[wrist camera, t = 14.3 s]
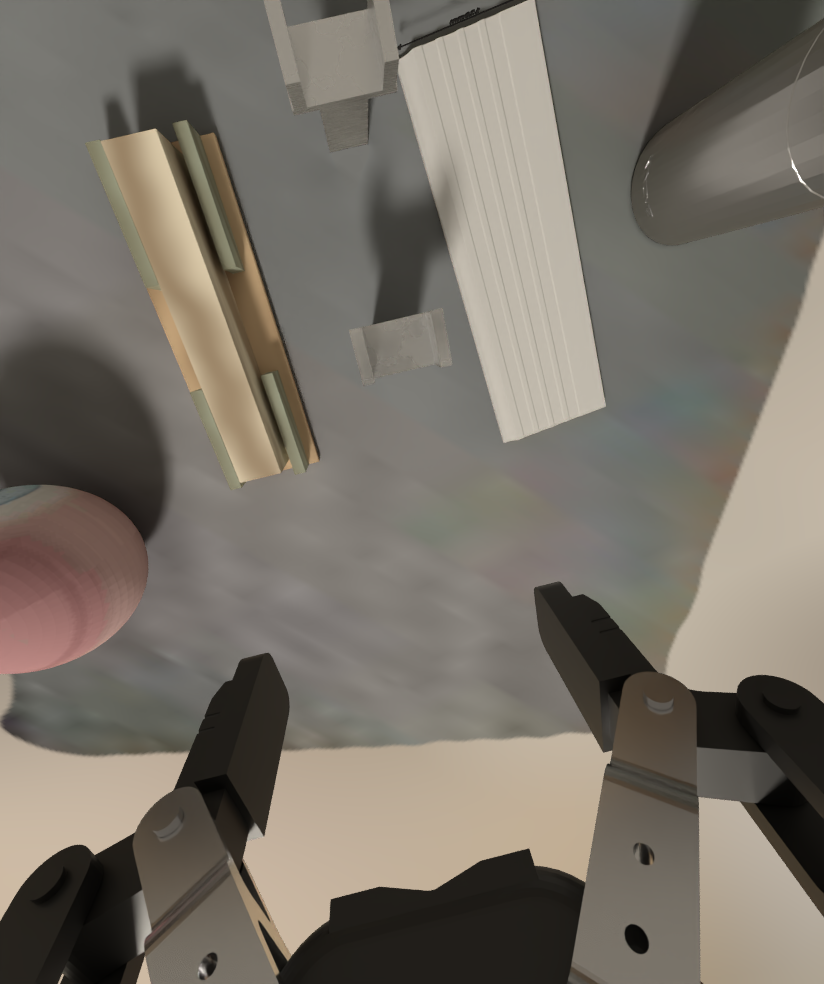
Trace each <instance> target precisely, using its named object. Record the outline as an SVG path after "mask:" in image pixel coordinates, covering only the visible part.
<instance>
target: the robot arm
mask: <svg viewBox="0 0 824 984" xmlns="http://www.w3.org/2000/svg"><path fill="white" fill-rule="evenodd" d="M631 201H632V209H633V213H634V216H635V219H636V221H637V223H638V225H639V227H640V229H641V230H642V231H643V232H644V233H645V234H646V235H647V237H648V238H650V239H652V240H653V241H655V242H657V243H660V244H663V245H680V244H684V243H688V242H692V241H696V240H700V239H704V238H708V237H712V236H716V235H720V234H724V233H728V232H731V231H735V230H739V229H743V228H746V227H750V226H754V225H758V224H762V223H765V222H769V221H773V220H777V219H780V218H784V217H788V216H792V215H795V214H799V213H803V212H807V211H810V210H814V209H818V208H822V207H824V18H823V19H822V20H820V21H819V22H817V23H816V24H814V25H813V26H811V27H810V28H808V29H807V30H805V31H804V32H802V33H801V34H799V35H798V36H796V37H795V38H794V39H792V40H791V41H789V42H788V43H786V44H785V45H783V46H782V47H780V48H779V49H777V50H776V51H774V52H773V53H771V54H770V55H768V56H767V57H765V58H764V59H762V60H761V61H760V62H758V63H757V64H755V65H754V66H752V67H751V68H749V69H748V70H746V71H745V72H743V73H742V74H740V75H739V76H737V77H736V78H734V79H733V80H731V81H730V82H729V83H727V84H726V85H724V86H723V87H721V88H720V89H718V90H717V91H715V92H714V93H712V94H711V95H709V96H708V97H706V98H705V99H703V100H702V101H700V102H699V103H697V104H696V105H694V106H693V107H691V108H690V109H688V110H687V111H685V112H684V113H683V114H681V115H680V116H678V117H677V118H675V119H674V120H672V121H671V122H669V123H668V124H667V125H665V126H664V127H663V128H662V129H660V130H659V131H658V132H657V133H656V134H655V135H654V136H653V138H652V139H651V140H650V141H649V142H648V144H647V145H646V147H645V149H644V150H643V152H642V154H641V156H640V158H639V160H638V163H637V165H636V168H635V171H634V176H633V180H632V188H631ZM534 596H535V604H536V612H537V620H538V628H539V633H540V636H541V639H542V642H543V645H544V647H545V649H546V651H547V653H548V654H549V656H550V658H551V660H552V662H553V663H554V665H555V667H556V669H557V671H558V672H559V674H560V676H561V678H562V679H563V681H564V683H565V685H566V687H567V688H568V690H569V692H570V694H571V696H572V697H573V699H574V701H575V703H576V705H577V706H578V708H579V710H580V712H581V713H582V715H583V717H584V719H585V721H586V722H587V724H588V726H589V728H590V730H591V731H592V733H593V735H594V737H595V738H596V740H597V742H598V744H599V746H600V747H601V749H602V751H603V752H608V751H611V750H612V757H611V761H610V764H607V766H606V769H605V773H604V778H603V784H602V790H601V795H600V801H599V807H598V813H597V819H596V824H595V830H594V836H593V842H592V848H591V854H590V859H589V866H588V872H587V877H586V883H585V882H584V881H582V880H579V879H578V878H576V877H574V876H572V875H570V874H568V873H565V872H562V871H560V870H556V869H552V868H548V867H541V866H534V863H533V859H532V856H531V853H530V850H529V849H526V850H521V851H517V852H514V853H510V854H506V855H502V856H498V857H494V858H490V859H486V860H482V861H480V862H478V863H477V864H475V865H473V866H472V867H471V868H469V869H467V870H465V871H464V872H462V873H461V874H459V875H458V876H456V877H454V878H453V879H451V880H450V881H448V882H447V883H445V884H443V885H442V886H440V887H438V888H437V889H435V890H431V891H423V890H411V889H399V888H388V887H377V888H373V889H369V890H365V891H361V892H358V893H354V894H350V895H346V896H342V897H339V898H334V899H331V904H330V920H329V921H328V922H326V923H325V924H323V925H322V926H321V927H319V928H318V929H317V930H316V931H315V932H313V933H312V934H311V935H310V936H309V937H308V938H307V939H306V940H305V941H304V943H302V944H301V945H300V947H299V948H298V949H297V950H296V952H295V953H294V954H293V955H292V956H291V954H290V952H289V950H288V948H287V947H286V945H285V943H284V941H283V940H282V938H281V936H280V934H279V932H278V930H277V928H276V926H275V924H274V922H273V920H272V918H271V915H270V913H269V911H268V909H267V907H266V905H265V903H264V901H263V899H262V897H261V894H260V892H259V890H258V888H257V886H256V884H255V882H254V879H253V877H252V875H251V873H250V871H249V869H248V867H247V865H246V863H245V861H244V860H243V854H244V851H245V846H246V842H247V841H250V840H254V839H257V838H261V837H264V835H265V829H266V825H267V820H268V815H269V810H270V805H271V799H272V795H273V790H274V785H275V780H276V774H277V770H278V765H279V760H280V755H281V750H282V745H283V740H284V735H285V730H286V725H287V720H288V715H289V696H288V692H287V689H286V686H285V684H284V682H283V680H282V678H281V676H280V673H279V671H278V669H277V667H276V665H275V662H274V660H273V658H272V656H271V655H270V654H269V653H264V654H260V655H256V656H252V657H248V658H244V659H242V660H241V661H240V662H239V664H238V667H237V669H236V672H235V675H234V677H233V680H231V681H227V682H225V683H224V684H223V685H222V687H221V688H220V689H219V690H218V692H217V693H216V694H215V695H214V697H213V698H212V700H211V702H210V704H209V707H208V709H207V712H206V714H205V719H203V721H202V724H201V726H200V728H199V734H197V736H196V738H195V740H194V743H193V745H192V748H191V750H190V752H189V755H188V757H187V760H186V762H185V764H184V767H183V769H182V772H181V774H180V776H179V779H178V781H177V784H176V786H175V788H174V790H173V791H172V792H170V793H168V794H167V795H165V796H164V797H162V798H161V799H160V800H159V801H158V802H156V803H155V804H154V805H153V807H151V808H150V810H149V811H148V812H147V813H146V814H145V816H144V817H143V819H142V820H141V822H140V824H139V825H138V827H137V830H136V832H135V833H133V834H132V835H130V836H128V837H126V838H125V839H123V840H121V841H119V842H118V843H116V844H114V845H112V846H111V847H109V848H107V849H105V850H103V851H102V852H100V853H98V854H96V855H94V854H93V853H92V852H91V851H90V850H89V849H88V848H87V847H86V846H84V845H74V846H70V847H68V848H65V849H63V850H61V851H59V852H58V853H56V854H55V855H53V856H52V857H50V858H49V859H48V860H46V861H45V862H44V863H43V864H42V865H40V866H39V867H38V868H37V869H36V870H35V871H34V872H33V873H32V874H31V875H30V877H29V878H28V879H27V880H26V881H25V883H24V884H23V885H22V886H21V888H20V889H19V891H18V892H17V894H16V895H15V897H14V899H13V900H12V902H11V904H10V906H9V907H8V909H7V911H6V912H5V914H4V916H3V918H2V920H1V921H0V984H58V981H59V979H60V977H61V975H62V974H64V976H63V979H62V981H61V983H60V984H136V982H137V979H138V975H139V972H140V969H141V966H142V963H143V960H144V957H146V962H147V966H148V971H149V976H150V981H151V984H703V983H702V982H701V981H700V895H699V894H700V892H699V886H700V884H699V802H698V797H705V798H713V799H722V800H731V801H740V802H741V803H742V805H743V806H744V807H745V809H746V810H747V812H748V813H749V815H750V816H751V817H752V819H753V820H754V822H755V823H756V824H757V826H758V827H759V828H760V830H761V831H762V833H763V834H764V835H765V837H766V838H767V839H768V841H769V842H770V844H771V845H772V846H773V848H774V849H775V850H776V852H777V853H778V855H779V856H780V857H781V859H782V860H783V861H784V863H785V864H786V866H787V867H788V868H789V870H790V871H791V872H792V874H793V875H794V877H795V878H796V880H797V881H798V882H799V883H800V885H801V886H802V888H803V889H804V890H805V892H806V893H807V895H808V896H809V897H810V899H811V900H812V902H813V903H814V904H815V906H816V907H817V909H818V910H819V911H820V913H821V914H822V915H823V916H824V703H823V702H821V701H820V700H819V699H818V698H817V697H816V696H814V695H813V694H812V693H811V692H810V691H808V690H806V689H805V688H803V687H802V686H800V685H798V684H796V683H794V682H791V681H789V680H786V679H783V678H779V677H775V676H768V675H756V676H750V677H747V678H745V679H744V680H742V682H740V684H739V685H738V689H737V693H722V692H702V691H695V690H689V689H688V688H687V687H686V686H685V685H683V684H682V683H681V682H679V681H678V680H676V679H674V678H673V677H670V676H668V675H665V674H662V673H658V672H657V671H656V670H655V669H654V668H653V666H652V665H651V664H650V663H649V662H648V661H647V659H646V658H645V657H644V656H643V655H642V654H641V652H640V651H639V650H638V649H637V648H636V646H635V645H634V644H633V643H632V642H631V641H630V639H629V638H628V637H627V636H626V635H625V633H624V632H623V631H622V630H620V629H619V626H618V625H617V624H616V623H615V622H614V620H613V619H611V618H610V616H609V615H608V613H607V612H606V611H605V610H604V609H603V607H602V606H601V605H600V604H599V603H597V602H596V601H594V600H592V599H590V598H589V597H587V596H585V595H583V594H582V595H578V596H574V597H572V596H571V595H570V593H569V592H568V591H567V589H566V588H565V587H564V586H563V584H562V583H561V582H555V583H551V584H547V585H543V586H539V587H535V588H534Z"/></svg>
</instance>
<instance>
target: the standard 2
mask: <svg viewBox="0 0 824 984" xmlns="http://www.w3.org/2000/svg"><path fill="white" fill-rule="evenodd" d="M349 332H350V336H351V340H352V344H353V348H354V352H355V356H356V359H357V363H358V367H359V371H360V375H361V379H362V383H363V386H365V385H370V384H374V383H375V381H374V379H375V378H379V377H383V376H387V375H391V374H396V373H400V372H404V371H408V370H412V369H417V368H421V367H425V366H429V365H433V364H435V365H437V366H439V367H445V366H449V365H452V360H451V354H450V348H449V343H448V337H447V331H446V325H445V319H444V314H443V308H440V309H436V310H432V311H428V312H424V313H420V314H416V315H412V316H408V317H403V318H399V319H395V320H391V321H386V322H382V323H378V324H374V325H370V326H365V327H360V328H356V329H352V330H349Z"/></svg>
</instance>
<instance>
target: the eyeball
mask: <svg viewBox="0 0 824 984" xmlns="http://www.w3.org/2000/svg"><path fill="white" fill-rule="evenodd" d="M147 577H148V556H147V551H146V547H145V544H144V541H143V539H142V537H141V535H140V533H139V531H138V530H137V528H136V527H135V525H134V524H133V523H132V521H131V520H130V519H129V518H128V517H127V516H126V515H125V514H124V513H123V512H122V511H120V510H119V509H118V508H117V507H115V506H114V505H112V504H111V503H109V502H107V501H106V500H104V499H102V498H100V497H98V496H96V495H93V494H91V493H88V492H85V491H81V490H78V489H74V488H69V487H63V486H55V485H24V486H16V487H9V488H4V489H0V674H16V673H27V672H34V671H39V670H44V669H48V668H52V667H55V666H58V665H61V664H64V663H67V662H69V661H72V660H74V659H76V658H79V657H81V656H82V655H84V654H86V653H88V652H90V651H92V650H93V649H95V648H96V647H98V646H99V645H101V644H102V643H104V642H105V641H107V640H108V639H109V638H110V637H111V636H112V635H114V634H115V633H116V632H117V631H118V630H119V629H120V628H121V627H122V626H123V625H124V624H125V623H126V621H127V620H128V619H129V618H130V616H131V615H132V613H133V612H134V611H135V609H136V607H137V605H138V603H139V602H140V600H141V598H142V595H143V592H144V590H145V587H146V582H147Z"/></svg>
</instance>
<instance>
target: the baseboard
mask: <svg viewBox="0 0 824 984" xmlns="http://www.w3.org/2000/svg"><path fill="white" fill-rule="evenodd" d="M510 1H513V0H510ZM510 1H507V2H505V3H502V4H500V5H498V6H501V5H503V4H506V3H508V2H510ZM498 6H495V7H493V8H490V9H488V10H486V11H489V10H491V9H494V8H496V7H498ZM478 10H480V8H477V10H476V12H475V9H473V10H471V12H467V13H466V14H465V15H461V16H459V17H458V18H454V19H452V20H450V26H448V27H451V26H453V25H456V24H458V23H460V22H463V21H465V20H467V19H470V18H472V17H475V16H477V15H479V14H482V13H484V12H486V11H483V12H481V13H479V11H478ZM473 12H474V13H475V14H476V15H474V13H473ZM470 13H471V14H470ZM477 13H479V14H477ZM472 15H474V16H472ZM470 16H471V17H470ZM464 17H465V18H467V19H464ZM468 17H469V18H468ZM459 19H460V20H461V19H462V21H460V22H458V21H459ZM463 19H464V20H463ZM454 21H455V24H453V23H454ZM456 22H457V23H456ZM451 23H452V25H451ZM448 27H445V28H443V29H441V30H444V29H446V28H448ZM441 30H438V31H436V32H433V33H431V34H429V35H432V34H434V33H437V32H439V31H441ZM429 35H426V36H424V37H422V38H425V37H427V36H429ZM422 38H419V39H417V40H420V39H422ZM417 40H414V41H412V42H410V43H413V42H415V41H417ZM410 43H407V44H405V45H402V46H401V44H400V45H399V46H398V47H397V49H399V50H401V47H403V46H406V45H408V44H410ZM398 75H399V78H400V82H401V85H402V89H403V93H404V96H405V100H406V103H407V107H408V110H409V114H410V117H411V121H412V124H413V128H414V131H415V135H416V138H417V142H418V145H419V149H420V152H421V156H422V159H423V163H424V166H425V170H426V173H427V177H428V180H429V184H430V187H431V191H432V194H433V198H434V201H435V205H436V208H437V212H438V215H439V219H440V222H441V226H442V229H443V233H444V236H445V240H446V243H447V247H448V250H449V254H450V257H451V261H452V264H453V268H454V271H455V275H456V278H457V282H458V285H459V289H460V292H461V296H462V299H463V303H464V306H465V310H466V313H467V317H468V320H469V324H470V327H471V331H472V334H473V338H474V341H475V345H476V348H477V352H478V355H479V359H480V362H481V366H482V369H483V373H484V376H485V380H486V383H487V387H488V390H489V394H490V397H491V401H492V404H493V408H494V411H495V415H496V418H497V422H498V425H499V429H500V432H501V436H502V439H503V442H504V443H505V442H508V441H512V440H519V439H522V438H524V437H526V436H528V435H531V434H534V433H537V432H539V431H542V430H544V429H547V428H550V427H553V426H555V425H557V424H560V423H562V422H566V421H569V420H570V419H573V418H576V417H578V416H582V415H584V414H587V413H590V412H592V411H595V410H597V409H600V408H603V407H605V406H606V405H605V399H604V393H603V387H602V382H601V376H600V370H599V365H598V359H597V353H596V347H595V342H594V336H593V330H592V325H591V319H590V313H589V308H588V302H587V296H586V290H585V285H584V279H583V273H582V268H581V262H580V256H579V250H578V245H577V239H576V233H575V228H574V222H573V216H572V211H571V205H570V199H569V193H568V188H567V182H566V176H565V171H564V165H563V159H562V154H561V148H560V142H559V136H558V131H557V125H556V119H555V114H554V108H553V102H552V96H551V91H550V85H549V79H548V74H547V68H546V62H545V57H544V51H543V45H542V39H541V34H540V28H539V22H538V17H537V11H536V5H535V0H527V1H525V2H523V3H520V4H518V5H516V6H513V7H511V8H508V9H506V10H504V11H501V12H499V13H498V14H496V15H493V16H491V17H489V18H486V19H482V20H480V21H478V22H477V23H474V24H472V25H470V26H467V27H465V28H461V29H458V30H457V31H455V32H453V33H451V34H448V35H446V36H443V37H439V38H437V39H436V40H434V41H432V42H429V43H427V44H424V45H420V46H418V47H416V48H413V49H412V50H411V51H410V52H409V53H408V54H406V55H405V56H404V57H402V58H400V59H399V65H398Z"/></svg>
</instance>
